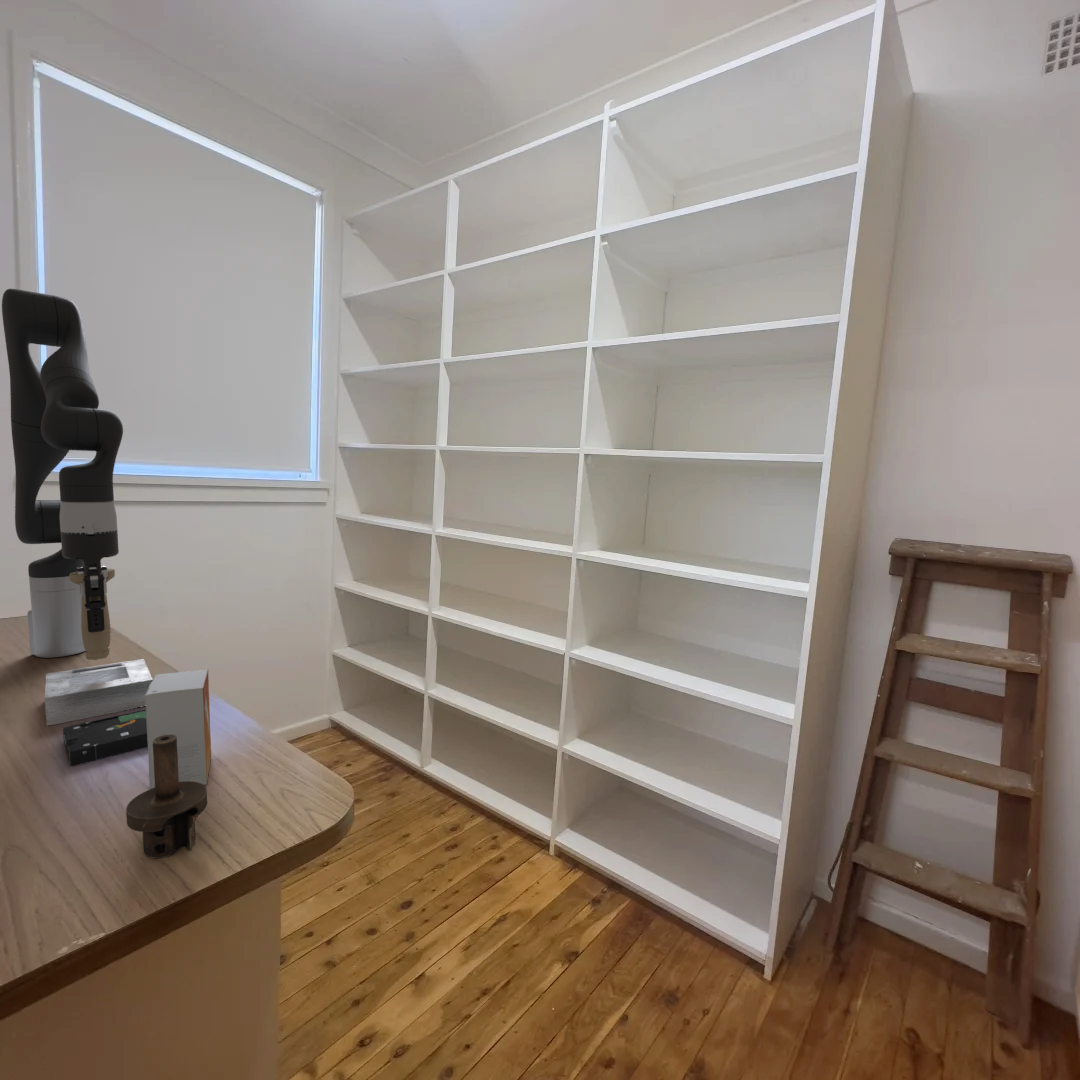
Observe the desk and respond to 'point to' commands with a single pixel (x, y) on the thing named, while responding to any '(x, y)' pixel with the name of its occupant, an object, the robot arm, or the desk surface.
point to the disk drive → (105, 737)
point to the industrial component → (167, 805)
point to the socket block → (95, 691)
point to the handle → (92, 641)
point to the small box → (181, 721)
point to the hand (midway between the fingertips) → (95, 628)
